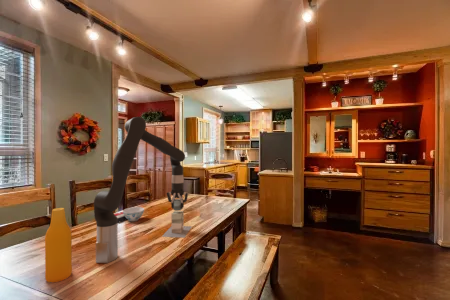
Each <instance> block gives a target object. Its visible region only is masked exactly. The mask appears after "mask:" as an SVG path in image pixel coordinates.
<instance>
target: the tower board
mask: <svg viewBox="0 0 450 300" xmlns="http://www.w3.org/2000/svg"><path fill="white" fill-rule="evenodd" d="M192 227H193V226H189V225H187V226H186V225H184V230H183V231H182V232H181V233H172V225H171V226H170V227H169V228H168V229H167V230H166V231H165V232H164V234H163V235H162V236H161V238H162V237H163V238H183V239H184V238H186V236H187V234H188V233H189V232H190V230H191V229H192Z"/></svg>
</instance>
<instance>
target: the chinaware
mask: <svg viewBox="0 0 450 300" xmlns="http://www.w3.org/2000/svg"><path fill="white" fill-rule="evenodd" d="M122 212H123V214H124V216H125V217H126V218H127V220H128V221H129V222H137V221H139V219H140V218H141V217H142V216H143V214H144V212H145V208H144V207H141V206H136V207H135V206H134V207H133V206H132V207H128V208H125V209H123V210H122Z"/></svg>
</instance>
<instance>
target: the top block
mask: <svg viewBox="0 0 450 300" xmlns="http://www.w3.org/2000/svg"><path fill="white" fill-rule="evenodd" d="M183 221H185V219H184V210H182V211H181V210H179V211H175V210H173V211H172V212H171V224H172V223H178V224H181V223H182V222H183Z"/></svg>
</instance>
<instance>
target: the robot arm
mask: <svg viewBox="0 0 450 300" xmlns="http://www.w3.org/2000/svg"><path fill="white" fill-rule="evenodd" d="M146 129H147V123H146V121H145V119H144V118H143V117H141V116H134V117H132V118H130V119H128V120H127V121H126V122H125V123H124V130H125V131H126V136H125V138H124V140H123V142H122V143H121V144H120V145H119V148H118V149H117V151H116V153H115V156H114V158H113V160H112V163H111V172H112V173H111V175H112V182H111V186H110V189H109V191H107V190H101V191H100V192H98V193H97V194H96V195H95V198H94V199H93V212H94V213H93V214H94V216H93V217H94V220H95V222H96V243H95V263H98V264H108V263H111V262H114V261H115V260H116V259H117V258H118V256H119V251H118V249H119V248H118V246H119V244H118V243H119V240H118V239H119V238H118V232H119V231H118V229H119V228H118V225H119V223H117V222H118V220H117V217H116V216H115V215H114V214H115V213H114V212H115V211H116V210H118V208H119V207H120V205H121V203H122V199H123V195H124V190H125V186H126V183H127V180H128V176H129V173H130V171H131V168H132V165H133V163H134V159H135V157H136V153H137V150H138V148H139V145H140V141H143V142H144V143H147V144H148V145H151V146H152V147H153V148H155V149H156V150H158V151H160V153H162V154H164V155H167V156H169V158H170V166H171V191H168V192H166V197H167V201H168V202H169V203H170V204H171V206H170V207H171V209H173V210H174V200H175V199H180V201H181V209H182V210H183V208H184V206H185V205H184V204H185V203H186V202H187V200H188V196H189V192H188V191H187V192H186V191H185V190H184V185H185V184H184V183H185V179H184V166H183V165H182V164H181V162H184V160H185V159H186V154H185V152H184V151H183V150H181V149H180V148H177V147H176V146H174V145H172V144H171V143H170V142H168V141H167V140H166V139H164V138H162V137H160V136H157V135H155V134H152V133H150V132H149V131H148V130H146ZM171 195H172V196H171ZM183 195H184V197H183Z"/></svg>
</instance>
